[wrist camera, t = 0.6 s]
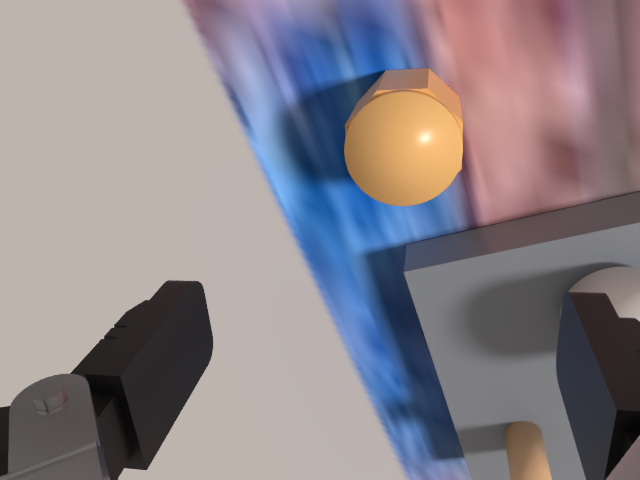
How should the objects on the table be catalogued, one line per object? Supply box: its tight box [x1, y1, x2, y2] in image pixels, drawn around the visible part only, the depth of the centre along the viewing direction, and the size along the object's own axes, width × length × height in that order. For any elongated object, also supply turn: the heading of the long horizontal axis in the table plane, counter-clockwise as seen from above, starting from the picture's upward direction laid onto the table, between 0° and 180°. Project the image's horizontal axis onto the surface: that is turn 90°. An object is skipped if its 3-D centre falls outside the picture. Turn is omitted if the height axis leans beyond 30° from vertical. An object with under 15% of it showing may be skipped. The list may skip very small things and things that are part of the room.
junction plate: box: [404, 192, 640, 480], centre depth 28 cm, size 16×12×9 cm
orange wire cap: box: [344, 68, 463, 206], centre depth 25 cm, size 5×5×5 cm
